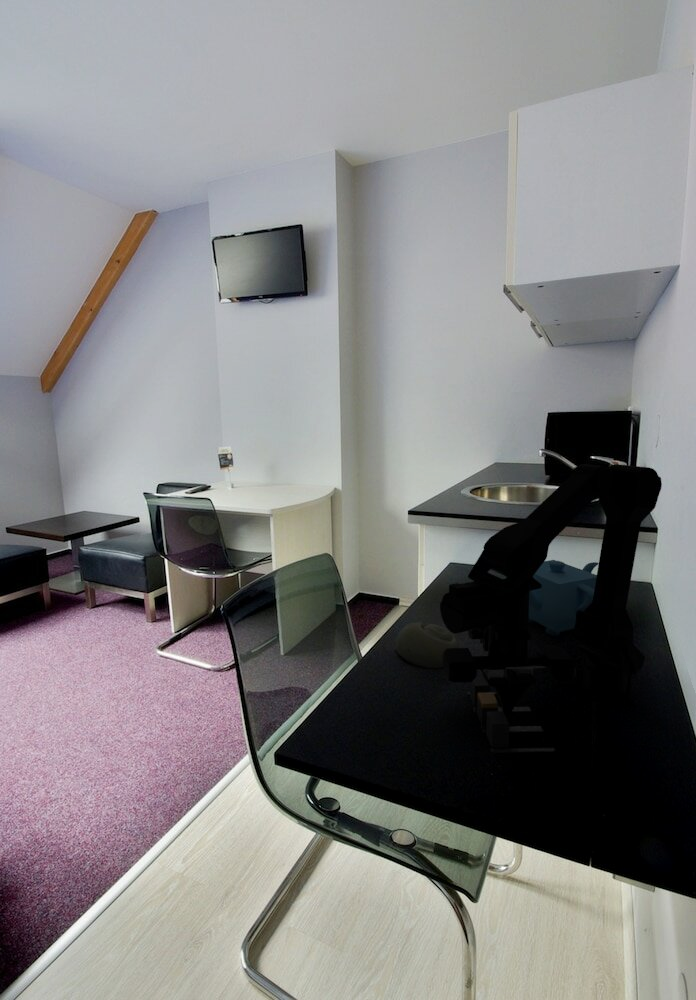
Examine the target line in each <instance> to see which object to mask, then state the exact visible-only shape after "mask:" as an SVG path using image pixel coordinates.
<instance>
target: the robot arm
mask: <svg viewBox="0 0 696 1000" xmlns="http://www.w3.org/2000/svg"><path fill="white" fill-rule="evenodd" d="M662 486H663V485H662V478H661V476H659V474H658V472H657V470H656V469H654V468H652V467H647V466H638V465H630V464H629V465H628V464H627V465H626V464H617V463H616V464H611V465H609V466H608V467H607V466H603V465H596V464H595V465H594V464H588V463H587V464H586V463H584V464H580V465H577V466H575V467H574V468H573V469H572V471H571V474H570V475H569V477H568V478H566V479H565V480H564V481H563V482H562V483H561V484H560V485H559V486H558V487H557V488H556V489H555V490H554V491H553V492H552V493H551V494H550V495H548V496H547V498H546V499H544V500H543V502H541V503H540V504H539V505H538V506H537V507H535V509H534V510H533V511H532V512H531V513H529V515H527V516H526V517H525V518H524V519H523V520H521V521H519V522H517V523H513V524H510V525H507V526H505V527H503V528H502V529H500V530H499V531H497V532H496V533H495V534H493V535H492V536H490V537H489V538H488V539H487V540H486V542H485V543H484V545H483V550H482V551H481V553H480V555H479V556H478V558H477V559H476V561H475V563H474V565H473V567H471V568H472V569H471V570H470V571H469V573H468V575H467V577H468V579H470V580H471V581H470V582H463V583H457V582H456V583H452V584H449V585H448V592H447V593H445V594H443V597H442V598H441V602H440V603H439V604H440V605H439V608H440V617H441V619H442V621H443V624H444V626H445V628H446V629H447V630H448V631H450V632H451V633H452V634H460V633H464V632H465V633H466V632H468V634H467V635H468V638H469V639H471V640H479V644H482V649H483V651H484V652H487V655H479V656H478V655H477V656H476V655H475V656H474V655H473V654H472V652H471V651H470V649H469V647H459V648H447V649H446V650H445V651H444V653H443V665H444V667H443V668H444V671H445V673H446V676H447V678H448V681H450V682H452V683H470V682H472V681H473V680H474V679H475V678H476V677H477V676H478V675H477V670H478V671H480V672H481V674H482V676H484V678H485V680H486V682H487V684H488V685H490V687H493V688H494V689H495V692H497V695H496V696H497V698H498V703H499V705H500V707H501V708H502V711H503V712H504V714H505V716H510V715H511V713H512V712H511V711H512V710H513V708H514V707H516V705H517V703H518V702H519V701H520V699H521V697H522V696H523V695H524V694H525V693H526V691H528V689H529V688H530V687H531V686H535V685H536V684H537V680H536V678H535V676H534V674H533V673H534V669H549V671H548V673H549V674H550V676H552V678H554V679H555V680H556V681H557V680H574V679H576V678H577V676H576V675H577V665H576V661H575V660H574V659H573V658H572V657H571V656H570V654H569V653H567V651H566V650H565V649H564V648H563V647H562V646H560V644H558V645H557V644H556V645H555V644H554V645H550V644H549V645H537V646H536V648H535V653H534V654H528V650H529V649H528V647H529V646H528V645H529V641H531V640H532V632H530V630H529V624H530V623H529V594H530V592H529V591H531V590H536V589H540V588H541V587H542V585H541V584H540V583H539V582H538V581H537V580H535V579H534V577H533V575H534V574H535V573H536V572H537V570H538V569H539V568H540V566H541V565H542V564H543V562H544V561H547V558H548V553H549V546H550V545H551V544H552V542H553V540H554V539H556V538H557V537H558V535H560V534H561V533H562V532H563V531H564V530H565V529H566V528H567V527H568V526H569V525H570V524H571V523H572V522H573V521H574V520H575V519H576V518H577V517H578V516H579V515H580V514H581V513H582V512H583V511H584V510H585V509H586V508H587V507H588V506H589V505H590V504H591V503H592V502H593V501H595V500H596V498H597V497H598V502H599V504H600V507H601V509H602V510H603V513H604V516H605V523H604V524H605V525H604V530H603V536H602V541H601V548H600V554H599V560H598V563H599V564H598V565H597V572H596V575H597V577H596V583H595V589H594V595H593V600H592V602H591V603H590V604H589V605H588V606H587V607H586V608H585V609H584V610H578V611H577V613H576V623H575V627H574V629H572V633H574V640H575V642H576V643H577V644H578V645H577V646H578V648H579V653H580V654H582V655H585V656H587V658H586V665H584V666H583V676H582V685H583V686H584V687H585V689H586V690H587V691H588V692H589V693H594V694H600V695H603V696H607V697H610V698H611V697H612V698H616V699H618V700H619V702H621V703H622V704H623V705H634V704H636V703H637V701H636V699H635V698H634V697H633V695H631V691H632V690H631V689H632V681H633V680H632V679H633V675H637V674H638V671H641V670H643V666H644V663H645V659H646V656H644V654H643V653H642V652H641V651H640V650H639V649H638V647H637V646H636V645H635V644H634V626H633V623H632V620H631V618H630V614H629V612H628V610H627V606H628V605H627V604H628V599H629V592H630V586H631V582H632V575H633V571H634V570H633V569H634V563H635V557H636V552H637V546H638V541H639V534H640V529H641V524H642V523H643V522H644V520H645V519H646V518H647V517H648V516H649V515H650V514H651V512H653V511H654V510H655V508H656V506H657V503H658V499H659V495H660V493H661V490H662ZM489 571H493V572H495V573H497V574H499V575H503V576H504V577H505V578H501V577H499V576H496V575H494V574H491V573H489ZM505 670H506V671H505ZM505 674H506V676H505Z"/></svg>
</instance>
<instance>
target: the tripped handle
mask: <svg viewBox="0 0 696 1000" xmlns="http://www.w3.org/2000/svg"><path fill="white" fill-rule="evenodd" d="M493 692H494V691H490V693H478V694H477V713H476V716H477V717H478V720H479V723H480V724H481V727H486V718H487V712H494V711H498V707H499V701H498V700H497V698H496V696H495V695H494V694H493Z"/></svg>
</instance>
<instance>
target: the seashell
mask: <svg viewBox="0 0 696 1000" xmlns="http://www.w3.org/2000/svg"><path fill="white" fill-rule="evenodd" d="M447 648H460V645H459V642H458V639H457V638H456V636H455V635H454V633H452V632H450V631H449V630H448V629H447V628H446V627H445V628H444V627H442V626H440V625H438V624H433V623H432V624H426V623H423V622H421V621H416V622H411V623H408V624H407V625H405V627H403V628H402V629H401V630H400V631H399V632H398V634H397V636H396V640H395V650H396V651H397V654H398V655H399V656H400V657H401V658H402V659H403V660H404V661H407V662H409V663H411V664H413V665H415V666H419V667H421V668H426V669H441V668H442V669H443V668H444V665H443V653H444V651H445V650H446V649H447Z"/></svg>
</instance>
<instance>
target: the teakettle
mask: <svg viewBox="0 0 696 1000" xmlns="http://www.w3.org/2000/svg"><path fill="white" fill-rule="evenodd" d="M598 565H599V562H595V561H594V562H589V563H587V564H585V566H584V567H583V568H582V569H581V568H579V567H575V566H572V565H570V564H567V563H565V562H564V561H560V560H555V559H551V560H545V561H544V562H543V564H542V565H541V566H540V568H539V569H538V570H537V572H536V573H535V574H534V575H533V577H534V579H535V580H537V581H538V582H539V583H540V584H541V585H542V587H541V588H540V589H536V590H531V591H529V592H530V594H529V623H528V624H532V623H533V624H534V623H538V624H539V625H541V626H543V627H545V628H546V629H545V634H547V635H550V636H559V635H560V634H561V633H563V632H565V631H570V630H573V629H574V627H575V623H576V613H577V611H578V610H584V609H585V608H586V607H587V606H588V605H589V604H590V603H591V602H592V600H593V595H594V589H595V583H596V577H597V574H595V573H592V572H593V570H594V569H595V568H596V567H598Z"/></svg>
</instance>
